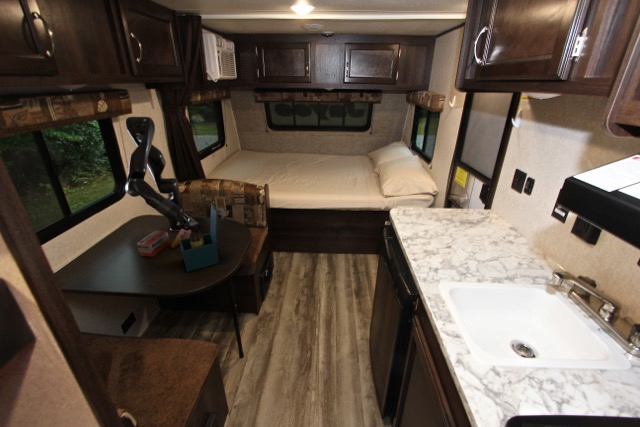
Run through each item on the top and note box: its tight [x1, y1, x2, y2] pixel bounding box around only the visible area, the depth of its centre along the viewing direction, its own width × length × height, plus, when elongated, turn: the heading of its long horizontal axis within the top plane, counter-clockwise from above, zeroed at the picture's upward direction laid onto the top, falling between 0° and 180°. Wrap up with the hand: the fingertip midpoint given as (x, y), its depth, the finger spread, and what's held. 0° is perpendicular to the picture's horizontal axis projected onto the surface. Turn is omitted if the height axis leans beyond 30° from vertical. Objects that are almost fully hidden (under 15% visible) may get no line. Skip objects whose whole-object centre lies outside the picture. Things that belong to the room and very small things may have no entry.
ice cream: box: [170, 229, 191, 249], centre depth 168 cm, size 11×10×15 cm
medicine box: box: [136, 230, 171, 258], centre depth 162 cm, size 15×8×8 cm, turn 172°
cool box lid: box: [209, 203, 226, 244], centre depth 150 cm, size 17×13×5 cm
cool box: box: [179, 232, 220, 273], centre depth 151 cm, size 16×13×12 cm
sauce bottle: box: [189, 221, 204, 249], centre depth 148 cm, size 6×6×20 cm
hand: (199, 229), depth 146 cm, fingers closed on sauce bottle, 4 cm apart
